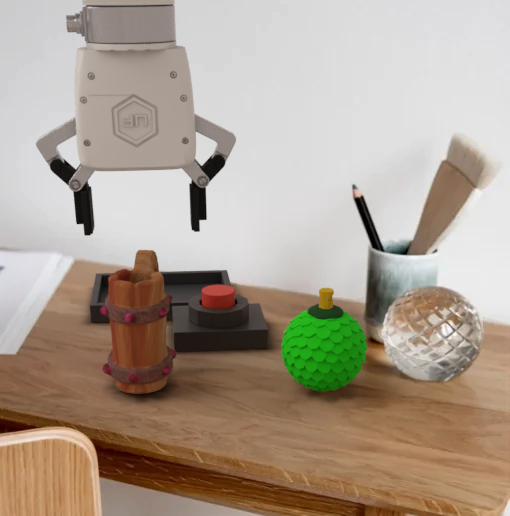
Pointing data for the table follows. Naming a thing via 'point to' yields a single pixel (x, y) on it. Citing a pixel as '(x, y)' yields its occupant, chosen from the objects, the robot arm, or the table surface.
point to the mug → (138, 327)
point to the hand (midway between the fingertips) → (142, 229)
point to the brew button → (218, 296)
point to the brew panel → (219, 326)
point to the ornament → (324, 346)
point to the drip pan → (175, 285)
